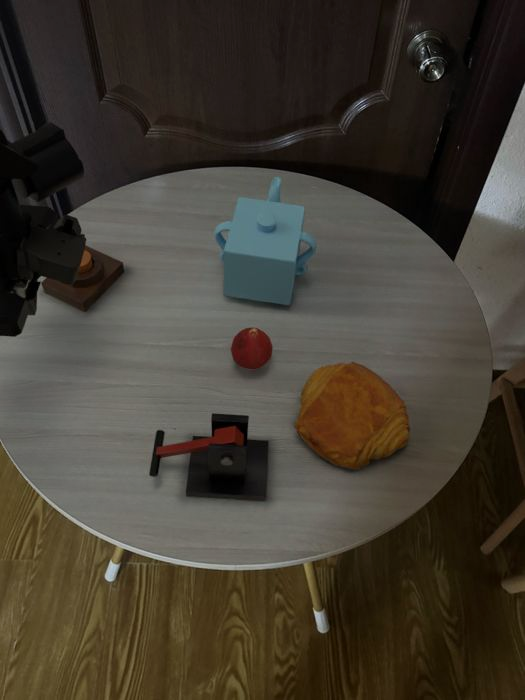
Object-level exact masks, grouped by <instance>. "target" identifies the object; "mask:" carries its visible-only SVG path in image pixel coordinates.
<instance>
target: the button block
mask: <svg viewBox="0 0 525 700" xmlns="http://www.w3.org/2000/svg"><path fill="white" fill-rule="evenodd" d="M85 251H87V252H89V253H90V255H91V259H92V263H93V266H92V269H91V270H90V271H89V272H86V273H84V274H77V278H76V281H75V282H74V283H73V284H69V285H68V284H63V283H61V282H60V281H57V280H53V279H50V278H46V277H45V278H44V279H43V280H42V281H40V282H41V283H40V285H41V287H42V289H43V292H44V293H45V294H47V295H49V296H51V297H53V298H55V299H57V300H59V301H61V302H63V303H65V304H68V305H69V306H71V307H74V308H75V309H78V310H79V311H81V312H84V313H87V312H88V310H89V309H90V308H91V307H93V305H95V304H96V302H97V301H98V300H99V299H100V298H101V297H102V296H103V295H104V294H105V293H106V292H107V291H108V290H109V289H110V287H112V285H114V283H116V282H117V280H119V279H120V278H121V277H122V275H123V274H124V273H125V266H124V262H123V261H122V260H118V259H116V258H115V257H112V256H110V255H107V254H106V253H104V252H101V251H99V250H97V249H95V248H93V247H90V246H88V245H86V246H85Z"/></svg>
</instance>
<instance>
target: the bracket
mask: <svg viewBox="0 0 525 700" xmlns="http://www.w3.org/2000/svg"><path fill="white" fill-rule="evenodd" d="M249 418H250V417H249V415H247V414H246V415H245V414H231V413H230V414H229V413H216V412H213V413H212V412H211V419H210V423H211V436H203V435H192V439H191V441H193V440H199V439H204V438H210V437H214V432H215V429H220V428H225V427H231V426H236V427H237V428H238V429H239V430H240V431H241V432H242V433H243V434H244V440H243V445H229V444H213V443H209V445H208V450H204V451H198V452H193V453H190V454H189V455H190V456H189V464H188V472H187V479H186V486H185V487H186V488H185V496H186V497H195V498H207V499H208V498H211V499H224V500H225V499H226V500H242V501H257V502H258V501H259V502H266V501H267V486H268V485H267V484H268V463H269V444H270V443H269V442H270V441H269V440H265V439H252V438H251V439H248V437H249V436H248V435H249V420H250V419H249Z"/></svg>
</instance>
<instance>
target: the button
mask: <svg viewBox="0 0 525 700" xmlns="http://www.w3.org/2000/svg"><path fill="white" fill-rule="evenodd" d="M92 266H93V263H92V259H91V255H90V253H89V252H87V251H85V250H84V254H83V257H82V261H81V265H80V268H79V271H78V274H84V273H86V272H89V271H90V270H91V269H92Z"/></svg>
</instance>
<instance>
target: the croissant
mask: <svg viewBox="0 0 525 700" xmlns="http://www.w3.org/2000/svg"><path fill="white" fill-rule="evenodd" d="M300 394H301V398H300V405H301V406H300V408H299V410H298V414H297V421H295V422H294V425H293V426H294V428H295V429H296V432H297V433H298V434H299V435H300V437H301V439H302V440H303V441H304V442H305V443H306V445H308V446H309V448H310V449H312V450H313V451H314V452H315V453H316V454H317V455H319V456H320V457H321V458H323V459H325V460H326V461H328V462H330V463H332V464H333V465H335V466H338V467H342V468H347V469H350V470H358V471H359V470H361V468H362V467H366V466H367V465H369V464H370V462H371V460H382V458H383V459H385V458H387V457H391V455H392V454H394V453H395V452H396V451H397V450H398V449H402V448H404V447H405V446H406V445H407V444H408V442H409V440H410V439H409V437H410V432H411V428H410V421H409V420H410V419H409V414H408V409H407V404H406V403H405V401H404V400H403V398H401V397H400V395H398V393H397V391H396V390H394V388H393V387H392V385H390V384H389V383H388V382H387V381H385V380H384V379H383V377H381V376H380V375H379V374H377V372H375V371H373V370H372V369H370V368H369V367H367V366H365V365H363V364H361V363H358V362H355V361H351V362H349V363H345V362H338V363H336V364H332V365H331V364H328V365H325V366H320V367H318V368H317V369H315V370H314V371H313V372H312V374H310V376H309V378H308V379H307V381H306V382H305V384H304V386H303V387H302V390H301V393H300Z"/></svg>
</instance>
